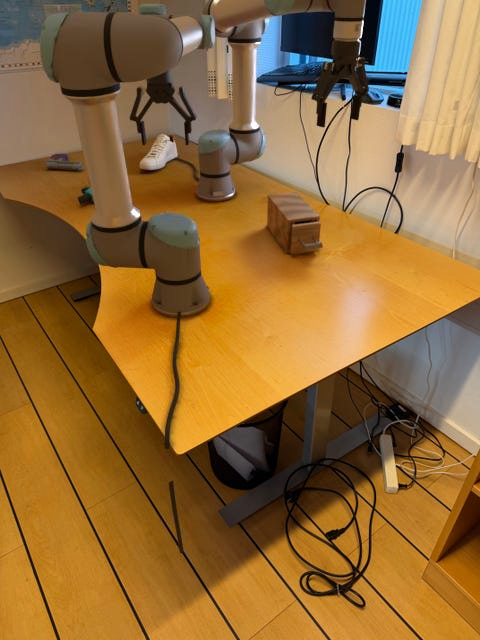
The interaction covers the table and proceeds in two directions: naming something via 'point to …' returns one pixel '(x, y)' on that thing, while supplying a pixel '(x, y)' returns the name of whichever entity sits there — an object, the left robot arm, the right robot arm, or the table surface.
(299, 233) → the drawer
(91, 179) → the left robot arm
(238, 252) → the table surface
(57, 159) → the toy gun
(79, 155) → the table surface
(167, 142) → the sneaker
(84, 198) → the toy gun
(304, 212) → the cabinet
